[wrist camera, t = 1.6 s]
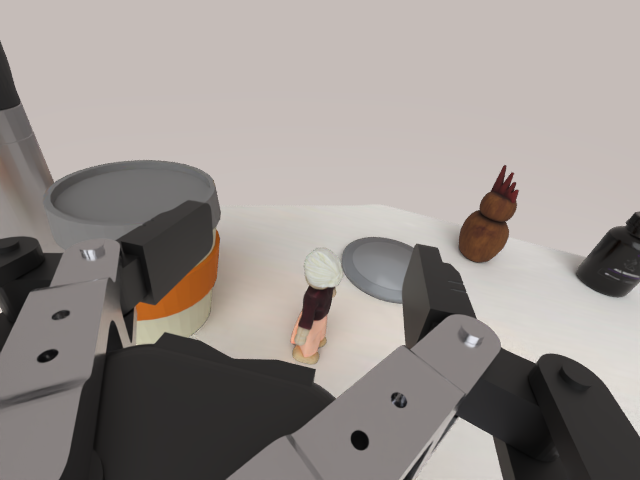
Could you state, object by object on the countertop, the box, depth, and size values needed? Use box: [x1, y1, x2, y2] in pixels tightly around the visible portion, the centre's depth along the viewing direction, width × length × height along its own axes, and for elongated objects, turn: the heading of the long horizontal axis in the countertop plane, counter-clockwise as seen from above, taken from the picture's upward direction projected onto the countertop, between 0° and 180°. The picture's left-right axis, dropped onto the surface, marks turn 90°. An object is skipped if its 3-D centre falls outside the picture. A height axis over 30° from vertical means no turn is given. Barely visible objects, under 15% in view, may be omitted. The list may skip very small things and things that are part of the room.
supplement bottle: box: [577, 212, 640, 297], centre depth 44 cm, size 7×7×12 cm
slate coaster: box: [341, 237, 414, 303], centre depth 44 cm, size 14×14×1 cm
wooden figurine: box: [459, 165, 518, 262], centre depth 46 cm, size 7×6×15 cm
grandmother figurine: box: [291, 248, 343, 364], centre depth 27 cm, size 8×4×13 cm, turn 167°
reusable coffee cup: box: [43, 160, 221, 345], centre depth 29 cm, size 12×13×15 cm
